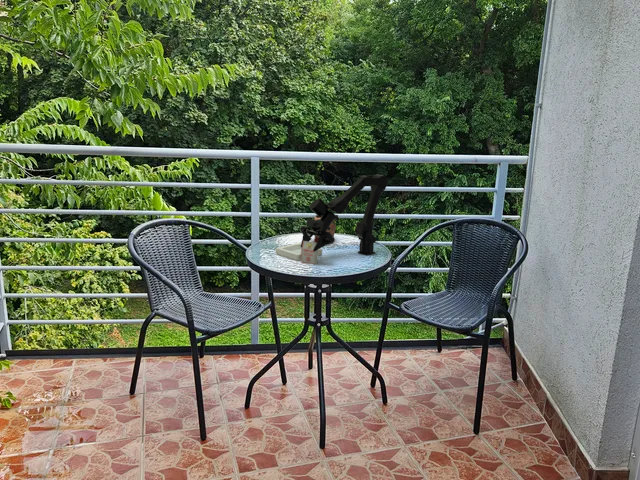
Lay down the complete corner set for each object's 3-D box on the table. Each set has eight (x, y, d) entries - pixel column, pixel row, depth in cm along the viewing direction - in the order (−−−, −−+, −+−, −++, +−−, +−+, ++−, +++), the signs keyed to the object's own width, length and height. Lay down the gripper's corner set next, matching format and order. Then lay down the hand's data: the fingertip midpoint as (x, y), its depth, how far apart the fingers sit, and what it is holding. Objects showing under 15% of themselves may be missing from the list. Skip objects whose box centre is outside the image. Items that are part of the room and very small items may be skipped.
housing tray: (322, 255, 272) (322, 249, 272) (297, 261, 261) (297, 255, 261) (300, 248, 283) (300, 242, 283) (275, 254, 273) (275, 248, 272)
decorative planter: (318, 236, 308) (318, 211, 305) (339, 238, 305) (340, 213, 302) (307, 245, 290) (307, 218, 286) (330, 247, 287) (330, 220, 283)
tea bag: (304, 260, 263) (305, 239, 261) (317, 262, 260) (318, 241, 258) (301, 262, 260) (301, 241, 257) (314, 264, 257) (314, 243, 255)
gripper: (302, 208, 263) (284, 235, 259) (330, 215, 250) (312, 243, 246) (314, 222, 271) (297, 248, 266) (342, 229, 258) (324, 257, 253)
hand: (307, 249), depth 257 cm, fingers open, 8 cm apart
